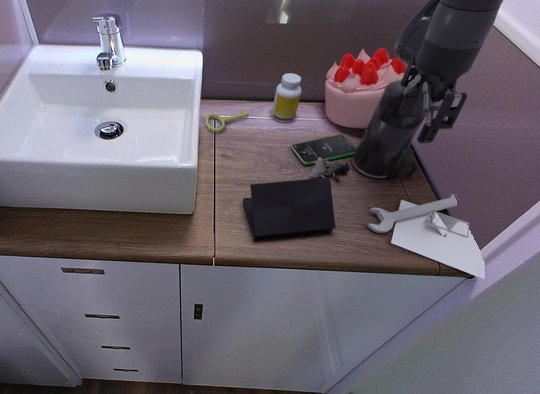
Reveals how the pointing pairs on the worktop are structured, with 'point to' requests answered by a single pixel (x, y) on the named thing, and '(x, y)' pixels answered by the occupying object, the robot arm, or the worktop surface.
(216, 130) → the key
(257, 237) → the laptop
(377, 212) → the wrench
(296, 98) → the pill bottle
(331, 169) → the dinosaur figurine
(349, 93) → the cake
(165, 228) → the worktop surface
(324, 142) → the smartphone
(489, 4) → the robot arm
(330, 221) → the laptop screen
